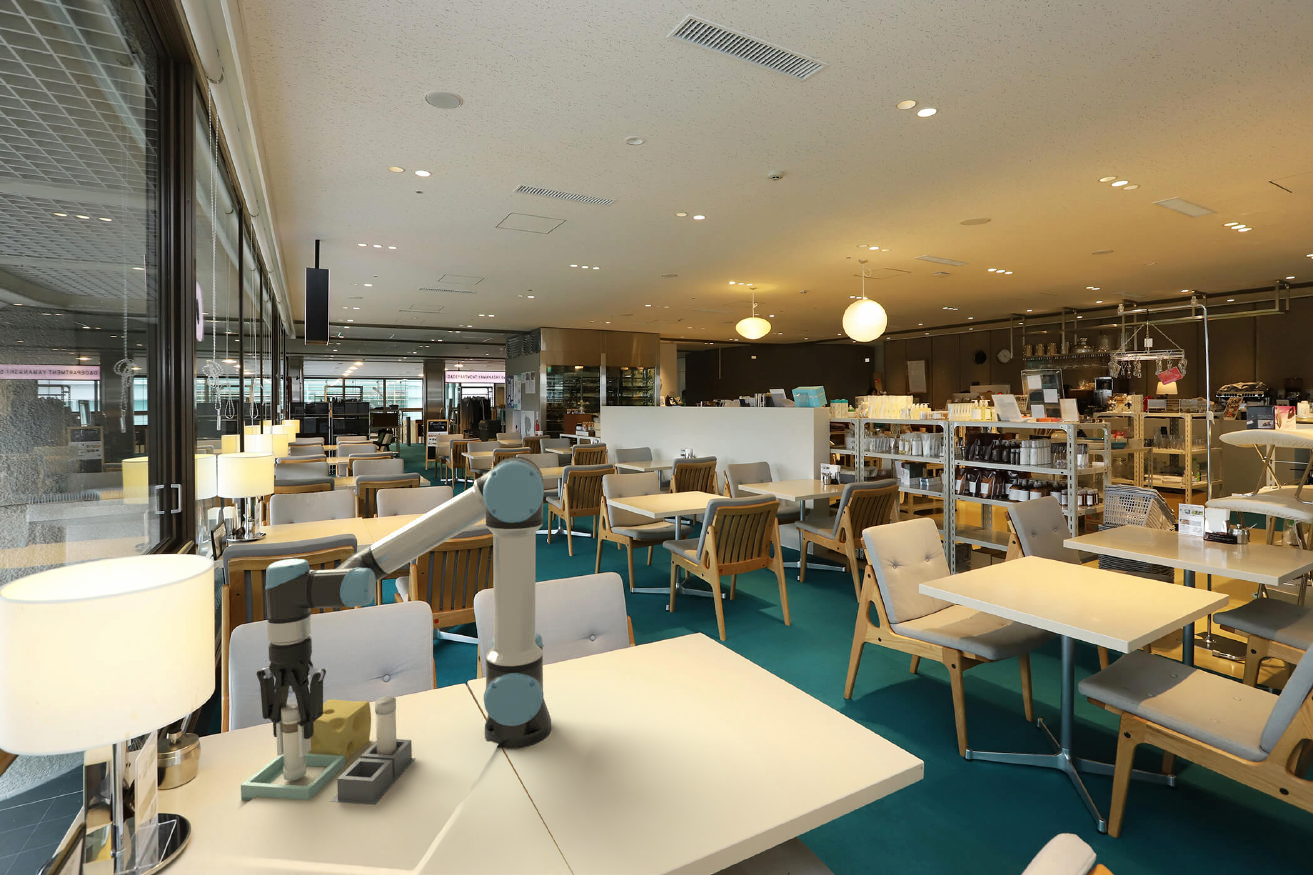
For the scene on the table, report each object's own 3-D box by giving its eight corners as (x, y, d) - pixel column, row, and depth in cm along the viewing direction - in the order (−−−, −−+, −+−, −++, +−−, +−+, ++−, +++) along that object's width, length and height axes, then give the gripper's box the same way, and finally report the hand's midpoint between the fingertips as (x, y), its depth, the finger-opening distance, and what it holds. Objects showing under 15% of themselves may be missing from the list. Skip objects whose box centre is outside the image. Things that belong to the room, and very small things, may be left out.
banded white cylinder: (310, 769, 133) (308, 702, 133) (297, 780, 129) (295, 712, 129) (292, 768, 134) (289, 701, 133) (279, 779, 130) (276, 711, 129)
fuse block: (415, 762, 139) (414, 694, 139) (375, 809, 124) (373, 732, 123) (376, 760, 140) (374, 692, 140) (330, 806, 125) (328, 729, 124)
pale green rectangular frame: (345, 769, 137) (345, 755, 137) (308, 804, 125) (308, 789, 125) (283, 765, 139) (282, 751, 138) (241, 799, 127) (240, 784, 127)
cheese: (341, 769, 137) (340, 723, 137) (296, 763, 139) (295, 718, 139) (372, 743, 147) (371, 700, 147) (330, 738, 150) (329, 696, 149)
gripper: (341, 633, 133) (345, 745, 134) (263, 630, 135) (268, 740, 136) (318, 647, 125) (322, 765, 127) (236, 643, 127) (241, 760, 129)
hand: (294, 752), depth 131 cm, fingers closed on banded white cylinder, 4 cm apart
